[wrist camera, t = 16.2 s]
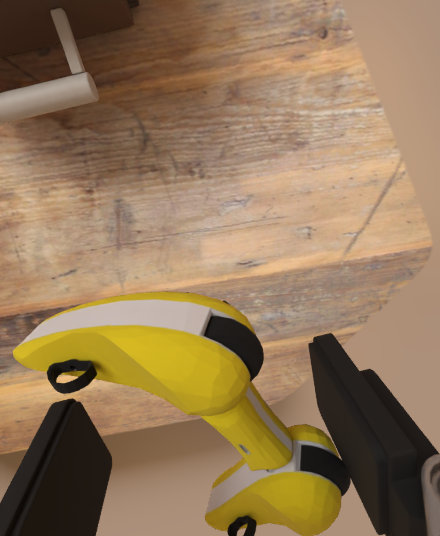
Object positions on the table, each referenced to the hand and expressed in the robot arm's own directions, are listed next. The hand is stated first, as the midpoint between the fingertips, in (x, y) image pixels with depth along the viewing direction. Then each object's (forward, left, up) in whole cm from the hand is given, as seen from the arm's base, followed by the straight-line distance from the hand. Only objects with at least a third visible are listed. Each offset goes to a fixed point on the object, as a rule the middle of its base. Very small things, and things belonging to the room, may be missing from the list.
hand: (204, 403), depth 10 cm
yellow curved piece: (0, 0, -1) cm, 1 cm away
